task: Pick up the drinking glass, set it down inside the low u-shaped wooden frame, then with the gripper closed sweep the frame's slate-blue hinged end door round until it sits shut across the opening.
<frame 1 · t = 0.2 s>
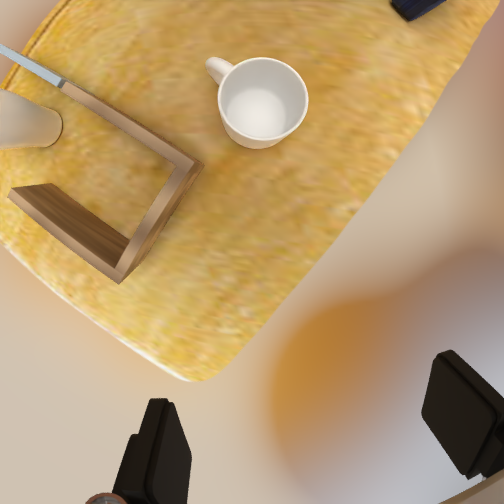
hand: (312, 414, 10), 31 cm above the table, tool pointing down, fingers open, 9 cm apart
u-shaped wooden frame: (118, 177, 37), on the table
mug: (245, 107, 36), on the table
drinking glass: (49, 128, 35), on the table
door: (44, 71, 28), point 5 cm above the table, hinge at 90.0°
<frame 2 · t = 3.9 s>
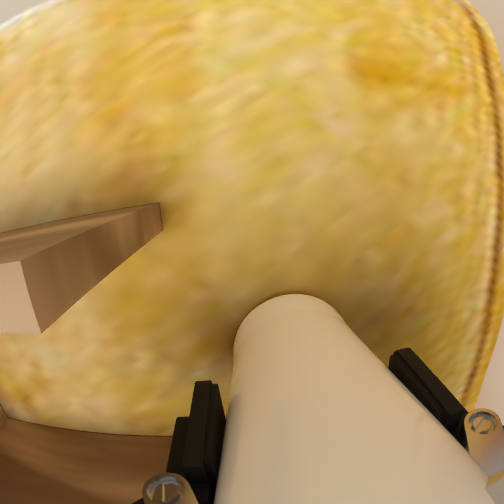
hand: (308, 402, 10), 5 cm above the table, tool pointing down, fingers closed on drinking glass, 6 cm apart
u-shaped wooden frame: (46, 355, 15), on the table
drinking glass: (288, 338, 15), on the table, touching gripper
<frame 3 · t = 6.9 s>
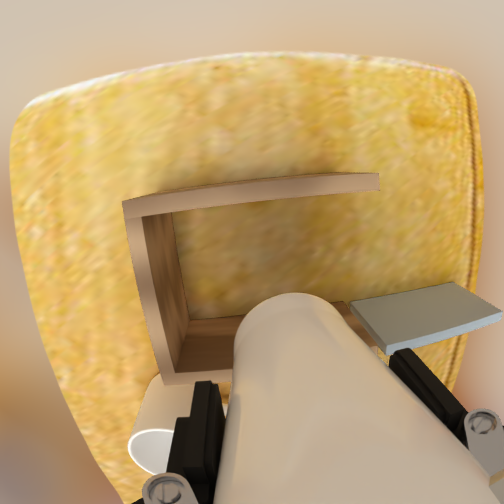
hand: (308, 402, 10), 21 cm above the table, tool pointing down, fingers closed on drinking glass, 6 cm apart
u-shaped wooden frame: (255, 255, 31), on the table
mug: (198, 394, 35), on the table
drinking glass: (288, 337, 15), point 16 cm above the table, touching gripper
door: (427, 312, 28), point 5 cm above the table, hinge at 90.0°
when the fingers open (5 cm above the table, at t = 10.1 s): drinking glass stays where it is, resting in u-shaped wooden frame.
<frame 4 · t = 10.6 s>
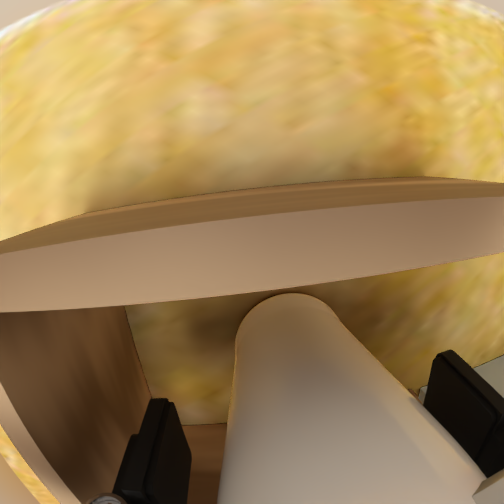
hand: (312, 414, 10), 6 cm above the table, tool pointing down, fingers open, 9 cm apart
u-shaped wooden frame: (274, 333, 16), on the table
drinking glass: (286, 335, 16), resting in u-shaped wooden frame
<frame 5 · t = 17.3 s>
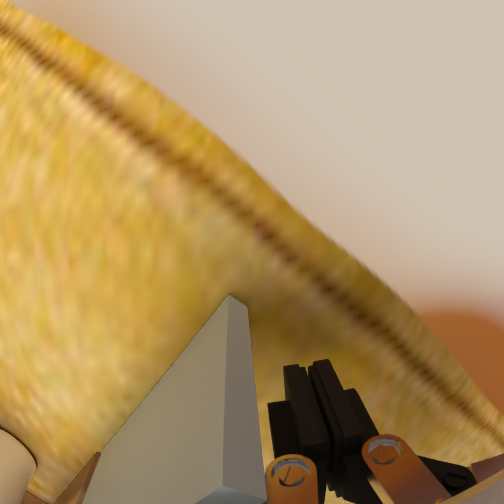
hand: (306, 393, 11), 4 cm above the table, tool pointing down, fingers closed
u-shaped wooden frame: (8, 447, 16), on the table
drinking glass: (13, 446, 16), resting in u-shaped wooden frame
door: (138, 464, 10), point 5 cm above the table, hinge at 89.6°, touching gripper
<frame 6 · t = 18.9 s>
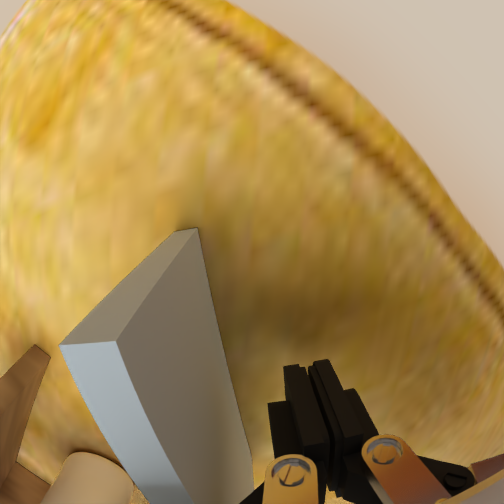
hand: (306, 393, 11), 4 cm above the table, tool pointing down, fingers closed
u-shaped wooden frame: (94, 472, 17), on the table
drinking glass: (101, 469, 17), resting in u-shaped wooden frame
door: (213, 440, 10), point 5 cm above the table, hinge at 43.9°, touching gripper
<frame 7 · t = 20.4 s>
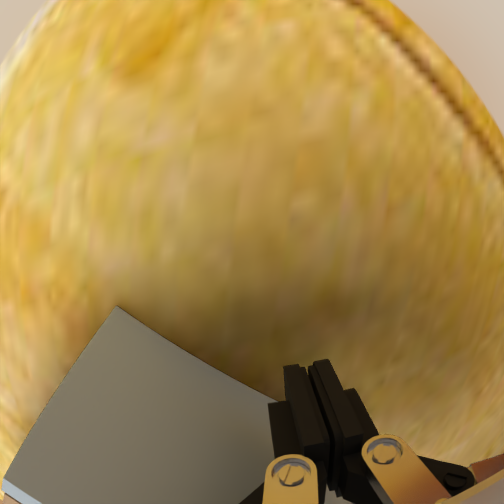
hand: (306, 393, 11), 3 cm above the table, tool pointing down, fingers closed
door: (245, 467, 10), point 5 cm above the table, hinge at -0.5°, touching gripper
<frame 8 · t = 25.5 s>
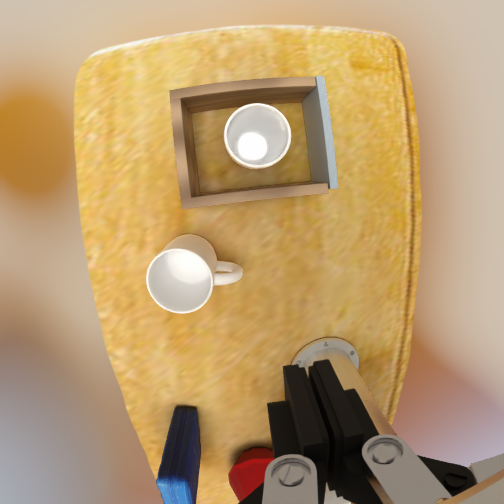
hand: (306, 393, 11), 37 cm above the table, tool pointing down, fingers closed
u-shaped wooden frame: (246, 146, 44), on the table
mug: (202, 260, 48), on the table
drinking glass: (251, 148, 44), resting in u-shaped wooden frame
book: (188, 427, 56), on the table
bottle: (259, 458, 59), on the table
door: (318, 135, 40), point 5 cm above the table, hinge at -0.5°
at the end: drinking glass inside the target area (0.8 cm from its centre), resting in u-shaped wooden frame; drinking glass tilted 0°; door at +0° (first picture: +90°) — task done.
